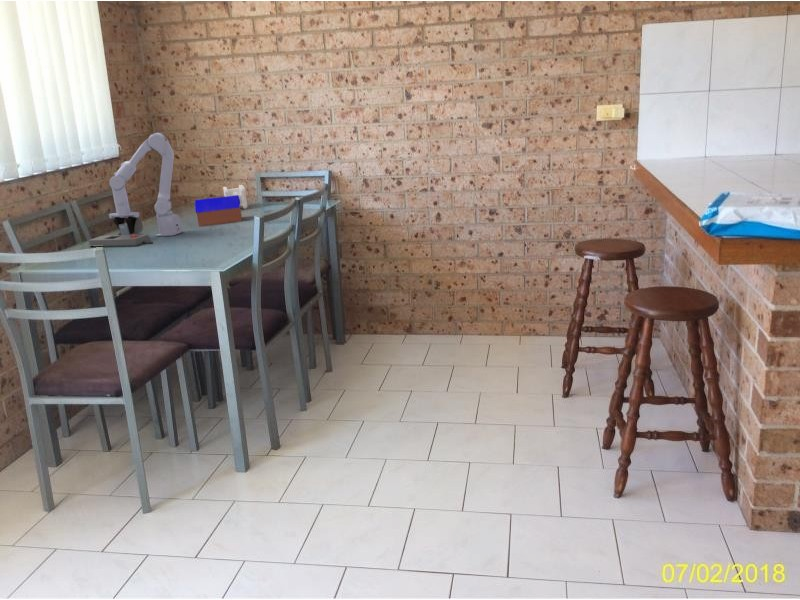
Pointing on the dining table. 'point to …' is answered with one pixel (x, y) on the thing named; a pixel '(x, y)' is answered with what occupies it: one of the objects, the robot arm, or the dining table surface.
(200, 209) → the blue-topped brown box
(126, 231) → the block
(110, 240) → the power strip
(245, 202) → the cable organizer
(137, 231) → the mug
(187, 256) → the dining table surface
